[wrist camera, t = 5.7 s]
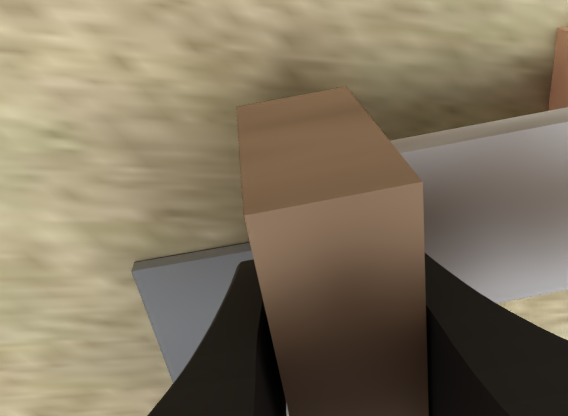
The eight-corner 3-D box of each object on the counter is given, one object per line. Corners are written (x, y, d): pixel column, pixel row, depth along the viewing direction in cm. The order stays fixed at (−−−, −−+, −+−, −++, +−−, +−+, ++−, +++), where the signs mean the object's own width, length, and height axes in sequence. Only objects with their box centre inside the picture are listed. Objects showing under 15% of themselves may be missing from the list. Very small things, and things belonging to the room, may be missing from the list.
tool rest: (465, 374, 24) (470, 383, 24) (192, 420, 25) (191, 430, 24) (470, 204, 20) (476, 212, 19) (134, 262, 20) (131, 271, 19)
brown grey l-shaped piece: (685, 285, 15) (870, 424, 11) (290, 361, 15) (316, 534, 11) (767, 8, 11) (1103, 53, 7) (236, 106, 11) (244, 216, 7)
